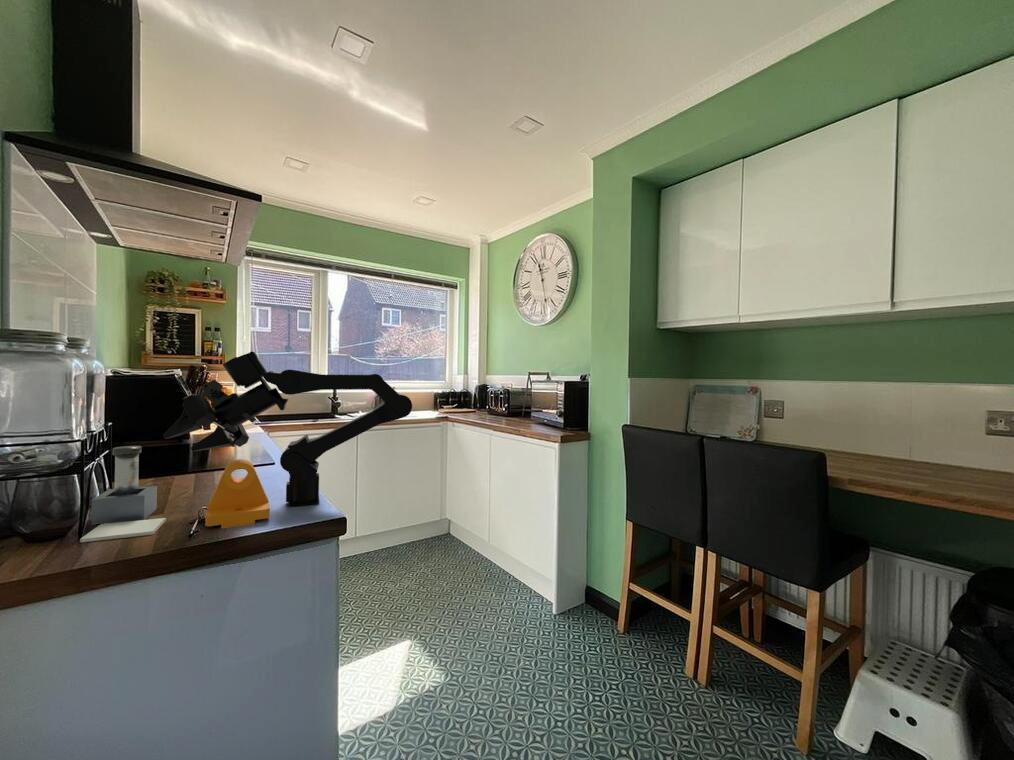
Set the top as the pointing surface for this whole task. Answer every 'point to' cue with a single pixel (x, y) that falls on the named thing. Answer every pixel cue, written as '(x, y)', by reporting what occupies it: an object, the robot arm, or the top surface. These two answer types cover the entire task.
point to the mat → (123, 529)
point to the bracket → (237, 498)
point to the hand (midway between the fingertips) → (178, 443)
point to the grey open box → (123, 506)
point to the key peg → (126, 470)
